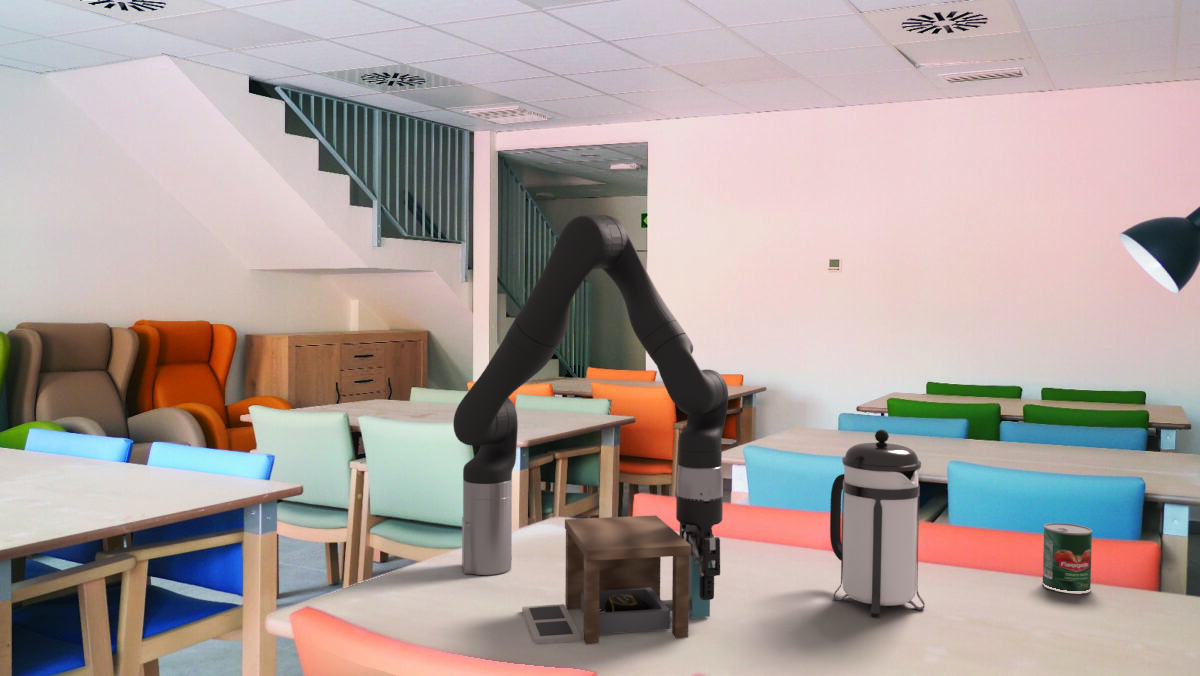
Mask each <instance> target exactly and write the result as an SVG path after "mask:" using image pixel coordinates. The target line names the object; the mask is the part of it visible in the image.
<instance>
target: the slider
mask: <svg viewBox="0 0 1200 676" xmlns="http://www.w3.org/2000/svg"><path fill="white" fill-rule="evenodd" d="M708 568H710V564H709V563H708ZM619 594H623V595H631V594H636V595H637V596H638V597H640V599H642V600H643V601H644V602H646V603H647V604H648V605H649V606H650V607H651V609H652V610H636V611H620V612H605V604H606V601H607V599H608V598H609V597H611V596H613V595H619ZM699 594H700V574H699V567H698V564H696V563H695V562H694V557H693V553H691V555H689V607H688V616H690V617H691V619H693V618H694V619H697V618H706V617H711V600H702V599H701V598H700V596H699ZM579 610H580V611H581V612H582V614H583V615H584V591H580V609H579ZM600 611H604V612H600ZM671 612H672V599H663V600H662V599H661V597H660V598H659V597H658V595H657V594H656V593H655V592H654V591H653V590H652V588H651V587H645V588H628V589H611V590H599V635H608V634H623V633H636V632H637V633H638V632H639V633H640V632H651V631H667V630H671Z"/></svg>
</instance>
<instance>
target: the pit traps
mask: <svg viewBox="0 0 1200 676" xmlns="http://www.w3.org/2000/svg"><path fill="white" fill-rule="evenodd" d="M521 609H522V610H521V612H522V614H523V617H524V620H525V622H526V625H527V627H528V631H529V633H530V635H531V638H532V641H533V643H534V645H545V644H547V645H548V644H560V643H573V642H581V641H582V637H581V634H580V632H579V630H578V628H577V626H576V624H575V622H574V620H573V619H572V616H571V615H570V613H569V610H567V608H566V606H565V603H561V604H560V603H559V604H548V605H547V604H545V605H531V606H529V605H528V606H522V607H521Z"/></svg>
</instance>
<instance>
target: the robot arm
mask: <svg viewBox="0 0 1200 676" xmlns="http://www.w3.org/2000/svg"><path fill="white" fill-rule="evenodd" d="M601 269H602V271H604V273H606V274H607V275H608V276H609V278H610V279H611V280H612V281H613V282H614V284H615V285H616V287H617V288H618V290H619V291H620V294H621V295H622V299H624V303H625V304H624V305H625V306H626V311H627V315H628V318H629V319H628V320H629V323H630V325H631V329H632V330H633V332H634V334H635V336H636V338H637V340H638V341H639V342H640V344H641V345H642V347H643V348H644V350H645V351H646V353H647V354H648V355H649V357H650V358H651V360H652V362H653V363H654V364H655V365H656V367H657V369H658V373H659V376H660V378H661V380H662V382H663V385H664V387H665V389H666V391H667V393H668V396H669V397H670V399H671V401H672V402H673V404H674V405H675V406H676V407H677V408H678V409H679V410H680V411H681V412H683V413H684V414H686V415H687V420H686V425H685V427H684V429H683V430H682V431H681V432H680V434H679V437H678V451H677V452H678V453H677V455H678V458H677V459H678V463H677V464H678V466H677V472H676V497H675V498H676V500H675V501H676V502H675V503H676V504H675V505H676V506H675V507H676V508H675V510H676V511H675V512H676V513H675V515H676V516H675V518H676V520H677V522H679V535H680V536H681V537H682V538H683V539H684V540H685V541H687V542H688V543H689V544H690V545H691V553H693V557H694V562H695V563H696V564H698V567H699V574H700V594H699V596H700V598H701V599H702V600H710V601H712V600H713V599H714V597H715V577H716V576H717V577H719V576H721V539H720V537H719V536H718V537H717V536H716V537H715V536H714V533H713V526H715V525H718V524H720V523H721V522H722V521H723V510H724V509H723V506H724V505H723V502H724V497H723V495H724V490H723V489H724V477H723V469H722V463H723V461H722V457H723V455H722V451H723V449H722V438H723V433H724V428H725V424H726V417H727V415H728V414H727V413H728V406H729V390H728V389H729V388H728V385H727V382H726V380H725V378H724V377H723V376H722V375H721V374H720V373H719V372H718V371H716V370H713V369H701V368H700V367H699V365H698V363H697V362H696V360H695V358H694V356H693V351H694V345H693V343H692V341H691V339H690V337H689V336H688V334H687V333H686V331H684V329H683V328H682V326H681V324H680V323H679V322H678V320H677V318H676V317H675V316H674V314H673V313H672V312H671V310H670V308H669V307H668V306H667V304H666V303H665V301H664V300H663V298H662V297H661V295H660V293H659V292H658V289H657V288H656V286H655V284H654V283H653V281H652V279H651V277H650V275H649V273H648V271H647V269H646V267H645V265H644V263H643V261H642V259H641V258H640V255H639V253H638V251H637V249H636V247H635V244H634V242H633V240H632V238H631V236H630V235H629V233H628V231H627V229H626V227H625V226H624V224H622V222H621V221H620V220H619V219H618V218H615V217H614V216H611V215H606V214H582V215H581V214H580V215H578V216H576V217H573V218H572V219H571V220H569V221H568V223H567V224H566V225H565V226H564V228H563V229H562V231H561V233H560V235H559V236H558V239H557V241H556V243H555V246H554V247H553V250H552V252H551V254H550V256H549V258H548V260H547V263H546V265H545V268H544V270H543V272H542V274H541V275H540V277H539V279H538V281H537V282H536V284H535V285H534V287H533V289H532V291H531V292H530V294H529V296H528V298H527V299H526V301H525V302H524V304H523V305H522V307H521V309H520V310H519V312H518V313H517V315H516V317H515V319H514V320H513V322H512V323H511V325H510V327H509V328H508V331H507V332H506V333H505V336H504V338H503V340H502V341H501V343H500V344H499V346H498V348H497V349H496V351H495V353H494V354H493V355H492V358H491V359H490V360H489V362H488V364H487V366H486V367H485V368H484V370H483V372H482V373H481V374H480V375H479V377H478V378H477V380H476V381H475V383H474V384H472V385H471V387H470V389H469V390H468V392H467V393H466V394H465V395H464V397H462V399H461V401H460V402H459V404H458V405H457V408H456V410H455V413H454V416H453V432H454V435H455V436H456V438H457V440H458V441H459V442H460V443H462V444H464V445H466V446H476V447H478V446H479V449H478V452H477V453H476V455H475V456H474V457H473V458H472V459H471V458H470V460H469V461H468V462H466V463H465V464H464V466H463V469H462V471H463V472H462V481H463V482H462V483H463V484H462V512H463V513H462V516H461V531H462V532H461V536H462V537H461V566H462V570H463V574H464V575H467V574H472V575H479V576H480V575H481V576H492V575H498V574H504V573H507V572H509V571H510V570H511V569H512V559H513V558H512V557H513V555H512V545H513V544H512V541H513V540H512V536H513V535H512V529H513V525H512V522H513V521H512V520H513V519H512V517H513V516H512V513H513V510H512V509H513V507H512V505H513V503H512V502H513V501H512V499H513V497H512V495H513V491H512V488H513V486H512V485H513V484H512V482H513V480H512V479H513V470H514V468H515V465H516V460H517V446H518V444H517V443H518V429H519V428H518V427H519V426H518V424H519V422H518V413H517V410H516V407H515V405H514V403H513V401H512V400H511V399H510V396H511V395H513V393H514V392H515V391H517V390H518V389H519V388H520V387H522V386H523V385H524V384H525V383H527V382H528V381H529V380H531V379H532V378H533V377H534V376H535V375H537V374H538V373H539V372H540V371H541V370H542V369H543V368H544V367H546V366H547V364H548V363H549V362H550V360H551V359H552V358H553V356H554V354H555V353H556V351H557V350H558V348H559V347H560V345H561V343H562V342H563V339H564V338H565V336H566V333H567V332H568V327H569V319H570V308H571V304H572V301H573V299H574V296H575V295H576V293H577V291H578V289H579V288H580V287H581V285H582V284H583V282H584V281H585V280H586V278H587V277H588V275H590V273H591V272H592V271H594V270H601ZM708 563H709V564H710V568H708Z"/></svg>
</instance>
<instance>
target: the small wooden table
mask: <svg viewBox="0 0 1200 676" xmlns="http://www.w3.org/2000/svg"><path fill="white" fill-rule="evenodd" d="M564 530H565V594H564V595H565V597H564V598H565V600H564V601H565V603H564V605H565V607H566V609H567V611H569V610H581V609H580V591H584V615H583V616H582V617H583V618H582V619H583V622H582V623H583V624H582V625H583V631H582V633H583V636H582V637H583V638H582V640H583V641H584V644H585V645H597V644H598V645H599V644H600V634H599V612H600V610H599V590H611V589H628V588H645V587H651V588H652V590H653V591H654V592H655V593H656V594H657V595H658V597H659V598H660V599H661V558H663V557H672V580H671V581H672V586H671V587H672V588H671V589H672V590H671V595H672V596H671V600H672V611H671V634H672V636H673V637H674V638H675V639H681V638H684V639H685V638H689V614H688V607H689V555H691V545H690V544H689V543H688V542H687V541H685V540H684V539H683V538H682V537H681V536H680V534H678V533H677V532H676V531H675V530H674V529H673V528H671V526H670V525H668V524H667V523H666V522H664V520H662V519H661V518H660V516H658V515H633V516H614V517H613V516H611V517H592V518H591V517H589V518H587V517H586V518H585V517H584V518H565V519H564Z"/></svg>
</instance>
